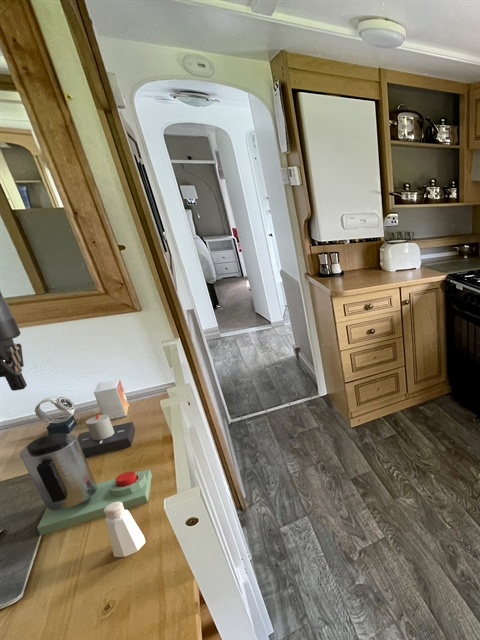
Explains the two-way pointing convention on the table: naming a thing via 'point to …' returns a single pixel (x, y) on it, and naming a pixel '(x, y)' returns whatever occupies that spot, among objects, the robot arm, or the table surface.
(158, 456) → the table surface
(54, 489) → the kettle
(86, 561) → the table surface
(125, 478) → the kettle switch
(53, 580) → the table surface
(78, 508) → the kettle base
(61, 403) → the watch
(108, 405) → the small box
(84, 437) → the dial panel
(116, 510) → the salt shaker
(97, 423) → the temp dial
